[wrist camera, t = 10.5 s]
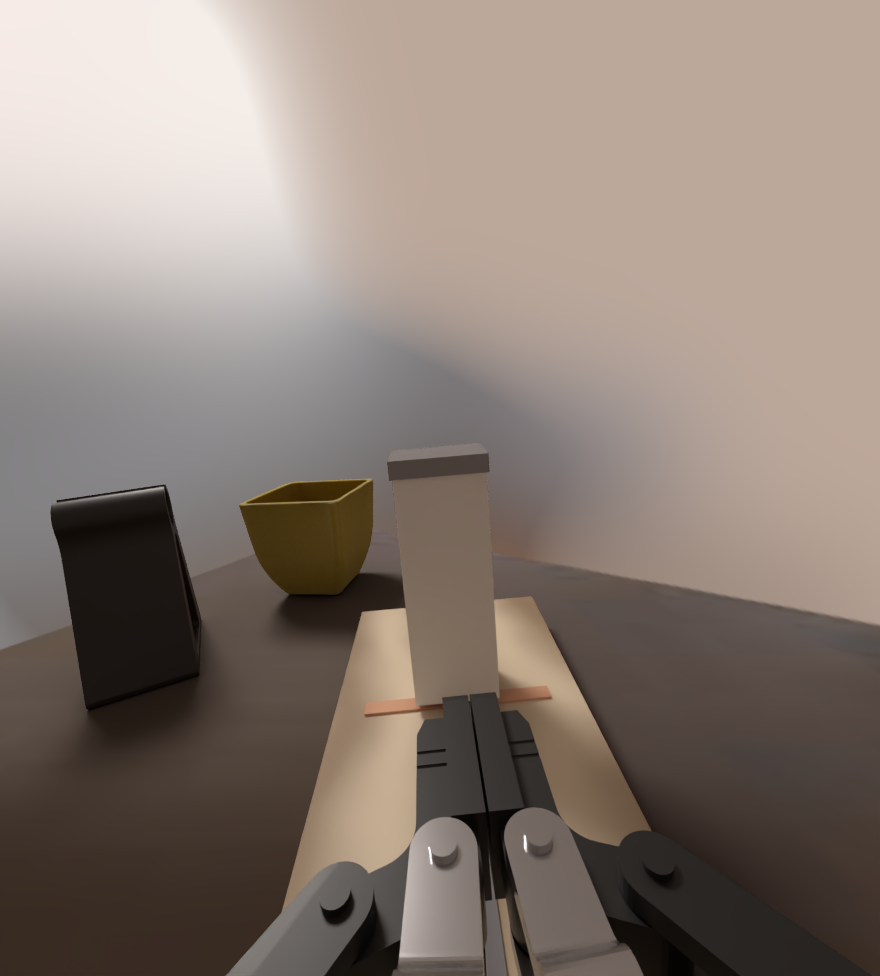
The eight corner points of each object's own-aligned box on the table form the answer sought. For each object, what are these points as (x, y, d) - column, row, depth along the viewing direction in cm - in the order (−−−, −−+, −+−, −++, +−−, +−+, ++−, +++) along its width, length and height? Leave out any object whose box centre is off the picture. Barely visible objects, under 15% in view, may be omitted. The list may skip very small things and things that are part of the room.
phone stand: (114, 641, 35) (73, 489, 32) (201, 618, 37) (170, 475, 34) (86, 712, 27) (27, 518, 24) (199, 677, 29) (158, 498, 26)
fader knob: (413, 707, 21) (387, 461, 19) (415, 666, 24) (392, 450, 22) (502, 699, 21) (488, 453, 19) (492, 659, 24) (479, 443, 22)
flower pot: (304, 564, 47) (290, 480, 45) (384, 564, 45) (374, 476, 43) (255, 605, 38) (235, 504, 36) (351, 608, 37) (336, 501, 35)
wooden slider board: (41, 2062, 5) (-21, 2024, 4) (365, 637, 32) (361, 610, 32) (1123, 1905, 5) (1178, 1852, 5) (532, 621, 32) (531, 594, 32)
